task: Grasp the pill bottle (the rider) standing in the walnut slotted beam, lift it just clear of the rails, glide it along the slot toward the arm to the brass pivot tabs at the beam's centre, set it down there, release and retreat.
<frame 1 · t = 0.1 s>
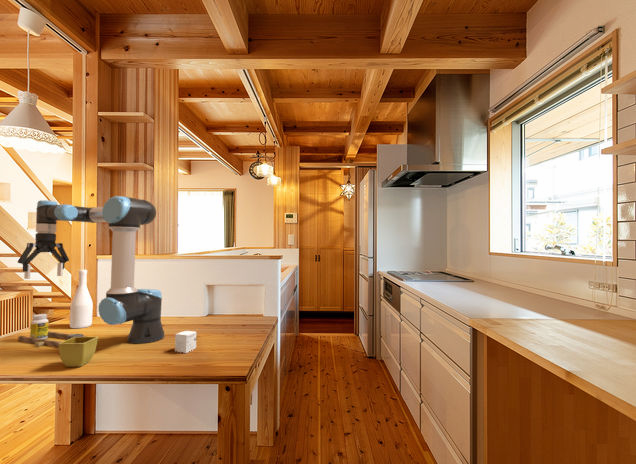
hand: (44, 277, 153), 28 cm above the table, fingers open, 13 cm apart
flower pot: (78, 365, 118), on the table
pill bottle: (39, 339, 147), on the table
skincare box: (185, 350, 135), on the table
beam: (55, 341, 144), on the table
wine bottle: (80, 326, 169), on the table
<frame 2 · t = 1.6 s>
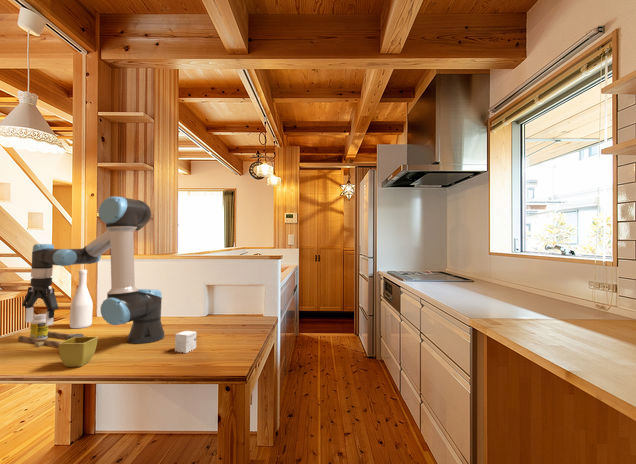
hand: (39, 323, 147), 7 cm above the table, fingers open, 13 cm apart
nothing on the table moved.
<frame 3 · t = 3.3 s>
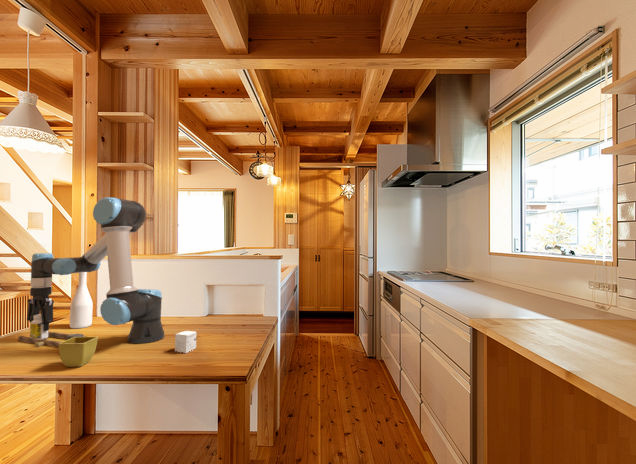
hand: (39, 336, 147), 1 cm above the table, fingers closed on pill bottle, 6 cm apart
pill bottle: (39, 339, 147), on the table, touching gripper
everything else where it was.
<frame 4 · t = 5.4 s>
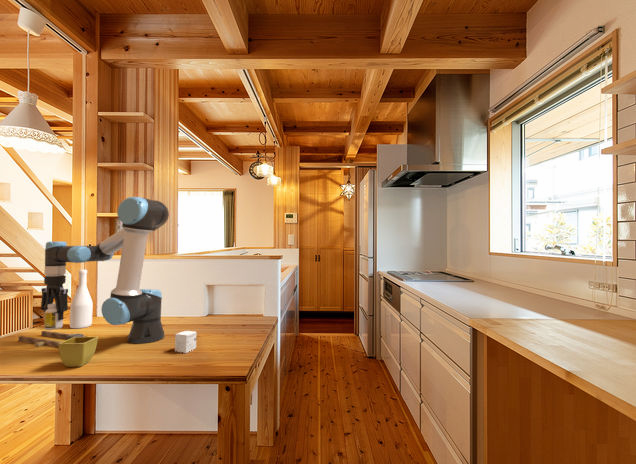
hand: (53, 326, 145), 7 cm above the table, fingers closed on pill bottle, 6 cm apart
pill bottle: (53, 328, 144), point 5 cm above the table, touching gripper
everything else where it was.
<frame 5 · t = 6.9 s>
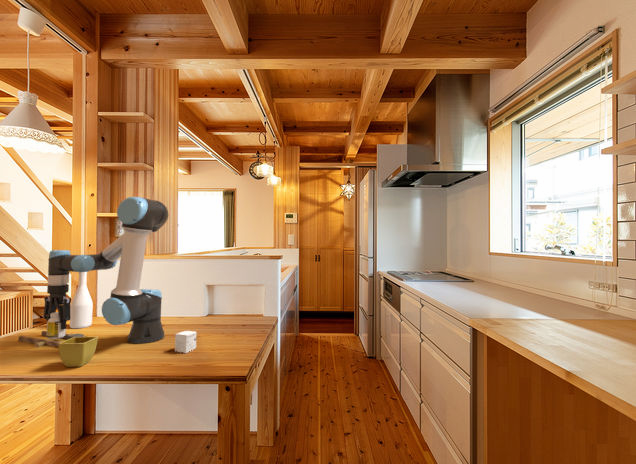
hand: (56, 335, 144), 3 cm above the table, fingers closed on pill bottle, 6 cm apart
pill bottle: (55, 338, 144), point 1 cm above the table, touching gripper
everything else where it was.
when the fingers open (2 cm above the table, at t = 7.8 s): pill bottle stays where it is, on the table.
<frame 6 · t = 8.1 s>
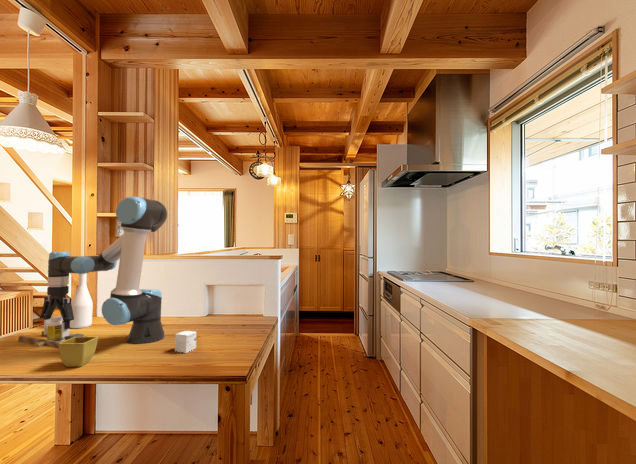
hand: (56, 335, 144), 3 cm above the table, fingers open, 10 cm apart
pill bottle: (56, 342, 144), on the table
everything else where it was.
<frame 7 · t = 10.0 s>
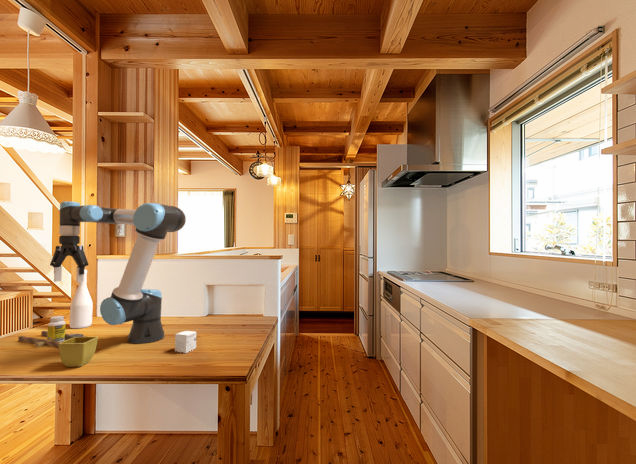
hand: (68, 281, 146), 27 cm above the table, fingers open, 13 cm apart
nothing on the table moved.
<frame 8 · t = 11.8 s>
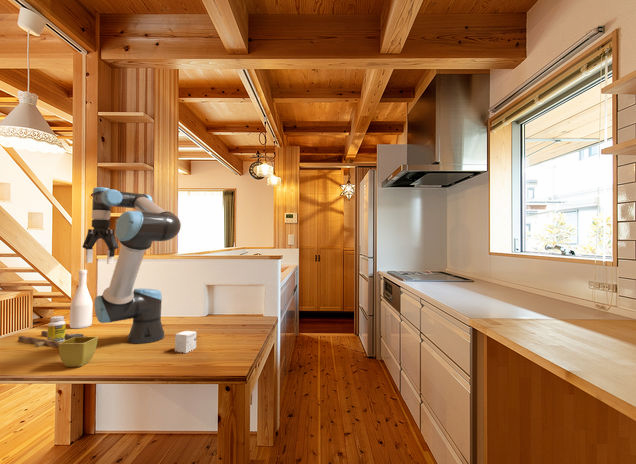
hand: (99, 263, 155), 35 cm above the table, fingers open, 13 cm apart
nothing on the table moved.
at the end: pill bottle inside the target area (0.1 cm from its centre), on the table; pill bottle tilted 0°; the gripper is holding nothing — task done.
